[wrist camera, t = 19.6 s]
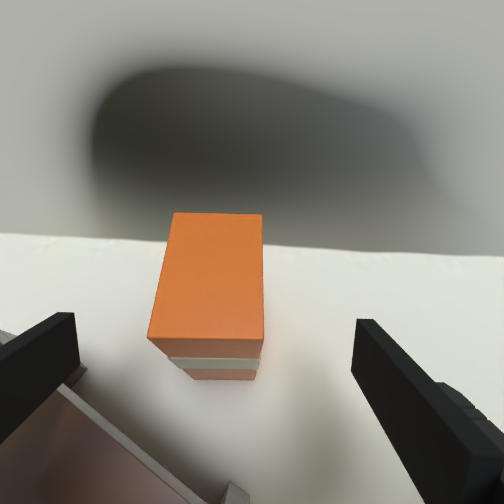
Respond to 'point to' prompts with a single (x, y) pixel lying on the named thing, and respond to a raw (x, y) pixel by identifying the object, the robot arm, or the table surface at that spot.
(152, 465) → the small wooden table
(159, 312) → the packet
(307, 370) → the table surface
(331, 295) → the table surface
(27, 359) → the robot arm
